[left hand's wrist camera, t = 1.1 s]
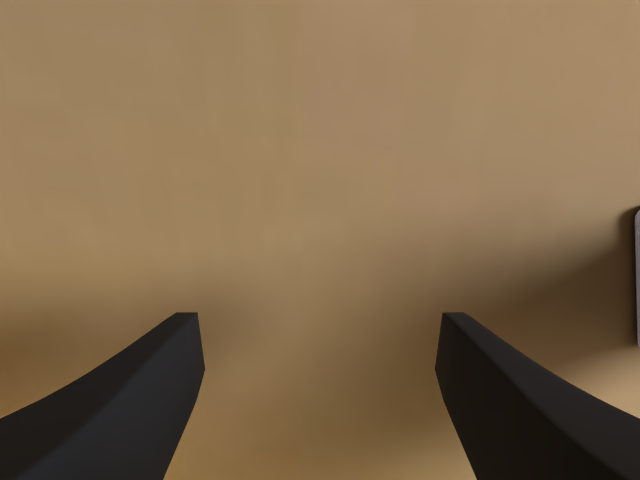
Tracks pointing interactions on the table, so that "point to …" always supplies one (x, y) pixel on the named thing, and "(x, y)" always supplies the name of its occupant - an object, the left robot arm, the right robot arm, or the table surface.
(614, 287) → the table surface
